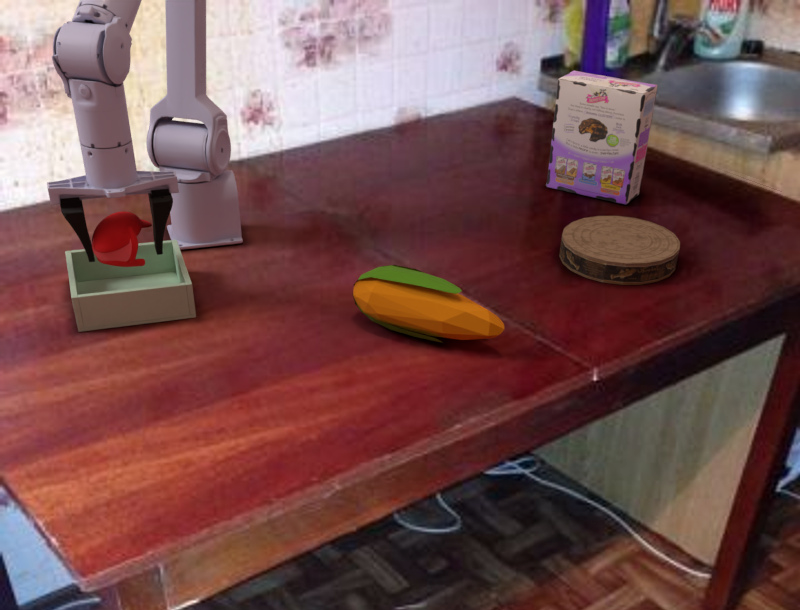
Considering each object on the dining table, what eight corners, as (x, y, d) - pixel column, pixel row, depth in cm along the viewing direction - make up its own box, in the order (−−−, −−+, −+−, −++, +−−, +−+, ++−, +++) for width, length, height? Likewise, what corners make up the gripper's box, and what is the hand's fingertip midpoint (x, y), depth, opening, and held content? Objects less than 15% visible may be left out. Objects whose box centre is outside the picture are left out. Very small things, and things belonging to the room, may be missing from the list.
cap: (124, 276, 116) (127, 224, 113) (80, 262, 117) (82, 211, 114) (160, 264, 122) (163, 215, 120) (118, 251, 124) (121, 203, 121)
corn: (371, 243, 119) (522, 281, 112) (373, 299, 124) (517, 339, 117) (338, 269, 114) (494, 311, 107) (342, 327, 120) (490, 370, 112)
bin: (180, 271, 130) (176, 239, 127) (196, 317, 120) (192, 283, 117) (71, 283, 126) (64, 250, 123) (78, 332, 117) (71, 297, 114)
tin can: (584, 289, 128) (587, 267, 126) (543, 240, 140) (545, 219, 138) (696, 279, 131) (701, 258, 129) (646, 232, 143) (650, 212, 141)
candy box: (640, 195, 154) (660, 83, 144) (625, 206, 150) (645, 93, 140) (560, 176, 160) (574, 67, 149) (544, 187, 156) (557, 76, 145)
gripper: (40, 158, 106) (65, 275, 115) (175, 146, 110) (190, 261, 118) (37, 136, 111) (61, 251, 120) (167, 126, 115) (181, 238, 123)
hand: (125, 255), depth 119 cm, fingers closed on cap, 7 cm apart
